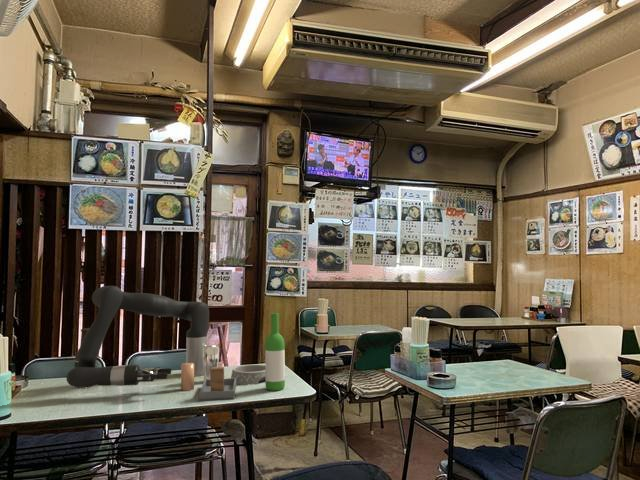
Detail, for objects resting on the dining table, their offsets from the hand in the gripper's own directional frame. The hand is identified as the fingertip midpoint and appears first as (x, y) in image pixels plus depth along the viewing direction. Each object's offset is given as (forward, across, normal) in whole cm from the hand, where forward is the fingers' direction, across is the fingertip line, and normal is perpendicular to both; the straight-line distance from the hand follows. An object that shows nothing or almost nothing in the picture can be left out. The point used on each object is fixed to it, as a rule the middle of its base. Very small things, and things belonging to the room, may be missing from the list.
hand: (169, 373), depth 180 cm
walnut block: (+19, -8, +7) cm, 22 cm away
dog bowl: (+32, +18, +8) cm, 37 cm away
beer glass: (+14, +18, +8) cm, 24 cm away
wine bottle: (+41, 0, +8) cm, 42 cm away
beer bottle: (-38, +21, +8) cm, 44 cm away
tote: (+19, -2, +8) cm, 21 cm away
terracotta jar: (+6, +6, +8) cm, 12 cm away
